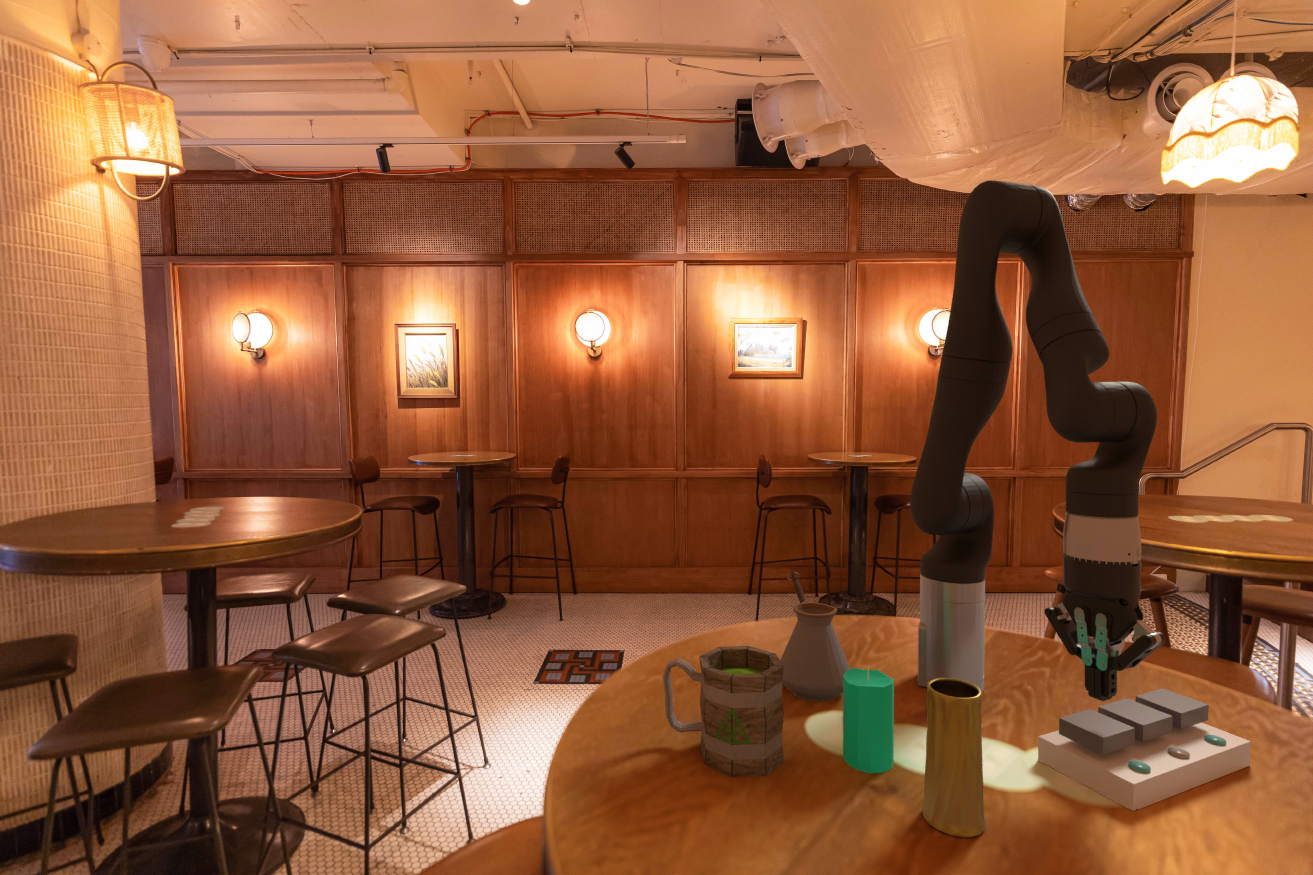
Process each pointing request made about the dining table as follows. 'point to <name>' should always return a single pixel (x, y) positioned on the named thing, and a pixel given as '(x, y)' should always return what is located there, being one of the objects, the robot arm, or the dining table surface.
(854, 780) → the dining table surface
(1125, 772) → the keypad
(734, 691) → the mug
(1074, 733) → the front key
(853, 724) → the candle
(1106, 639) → the robot arm
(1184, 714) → the back key
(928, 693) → the vase
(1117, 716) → the middle key
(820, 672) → the coffee pot
